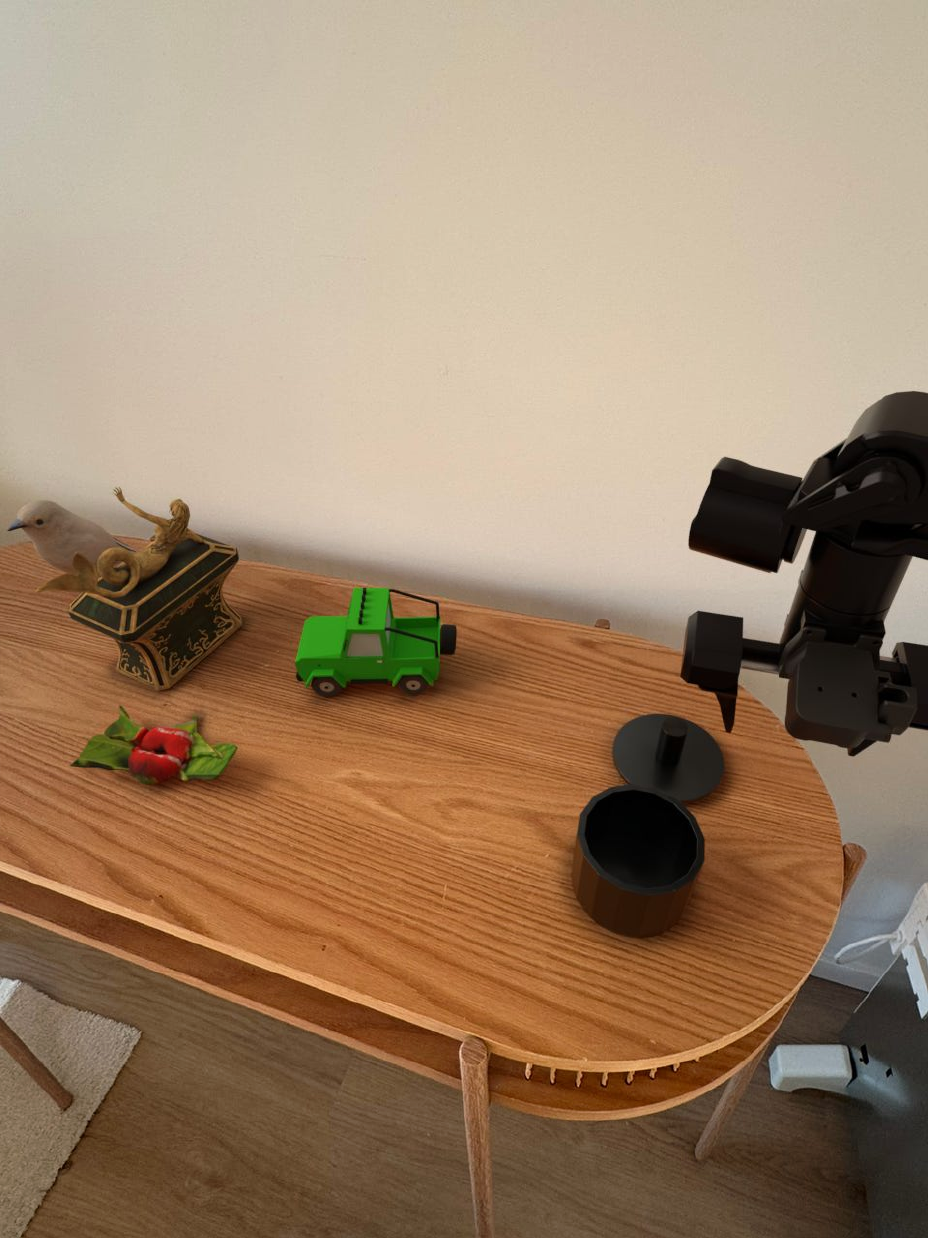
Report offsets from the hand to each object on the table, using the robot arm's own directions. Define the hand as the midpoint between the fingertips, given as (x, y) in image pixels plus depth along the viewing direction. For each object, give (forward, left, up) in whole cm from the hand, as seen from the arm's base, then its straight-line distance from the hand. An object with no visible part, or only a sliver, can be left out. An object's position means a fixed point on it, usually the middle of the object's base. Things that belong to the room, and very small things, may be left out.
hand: (787, 740), depth 59 cm
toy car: (+40, +5, -12) cm, 42 cm away
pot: (+6, +12, -12) cm, 18 cm away
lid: (+9, -2, -11) cm, 14 cm away
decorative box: (+62, +17, -12) cm, 66 cm away
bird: (+79, +15, -12) cm, 82 cm away
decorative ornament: (+49, +26, -12) cm, 57 cm away
